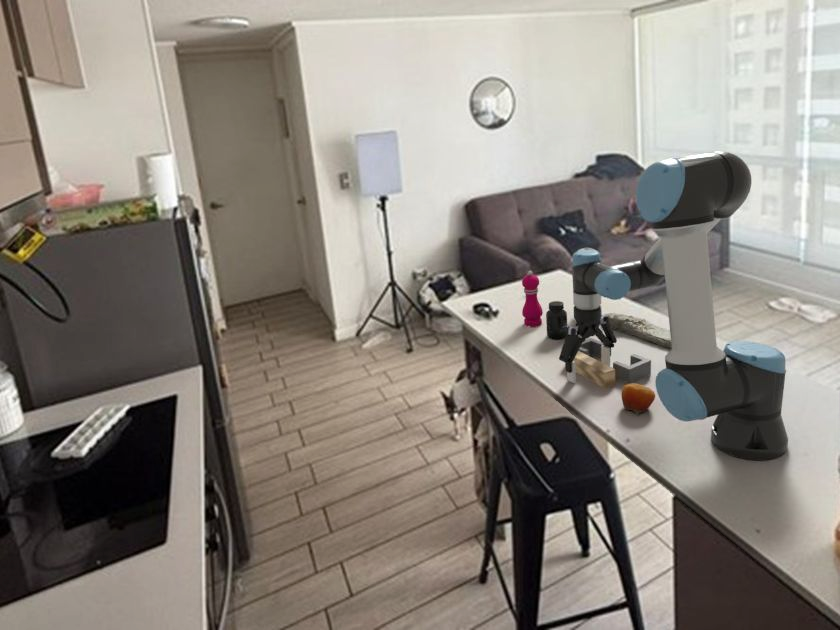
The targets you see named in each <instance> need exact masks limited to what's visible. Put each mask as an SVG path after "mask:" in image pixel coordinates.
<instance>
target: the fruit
mask: <svg viewBox="0 0 840 630" xmlns="http://www.w3.org/2000/svg"><path fill="white" fill-rule="evenodd" d="M655 398H656V394H655V391H653V390H652V389H651V388H650V387H648V386H646V385H642V384H641V383H639V384H638V383H635V382H633V383H631V384H628V383H627V384H625V385H623V387H622V390H621V401H622V406H623V407H624V408H623V409H624V411H626V410H629V411H630V410H631V411H633V412H635V413H636V415H637V417H639V413H642V412H646V411H647V410H648V409H649V408H650V407H651V405H652V404H653V402H654V401H655V400H656V399H655Z"/></svg>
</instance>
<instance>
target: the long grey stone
mask: <svg viewBox="0 0 840 630" xmlns="http://www.w3.org/2000/svg"><path fill="white" fill-rule="evenodd" d="M603 315H604V316H607V317H608V318H609V324H610V326H611V329H612V330H613V329H614V330H617V331H618V333H623V334H628V335H630V336H633V337H638V338H641V339H642V340H644V341H650V342H652V343H654V344H657V345H659V346H661V347H664V348H668V349H669V348H670V350H671V349H672V345H671V335H670V329H667V328H663V327H660V326H657V325H655V324H654V323H651V322H649V321H648V320H646V319H644V318H640V317H636V316H633V315H626V314H619V313H615V312H608V313H604V314H603Z"/></svg>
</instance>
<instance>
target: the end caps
mask: <svg viewBox="0 0 840 630" xmlns="http://www.w3.org/2000/svg"><path fill="white" fill-rule="evenodd" d="M603 345H604V344H603V343H602V342H601V341H600V340H599V339H598V340H597V339H594V338H592V337H591V338H590V337H589V338H587V339H586V340H585V341H584V342H583V343H582V344H581V346H580V348H579V350H578V351H580V352H582V353H584V354H586V355H588V356H590V355H593V356H594V357H598V358H600V359H601V346H603ZM604 346H605V345H604ZM629 359H630V365H628V364H625V363H622V362H620V361H618V360H616V361H614V362H612V368H614V369H615V379H617V380H619V381H622V382H624V383H626V384H627V385H628V384H631V383H635V382H637V381H640V380H642V379H644V378H647V377H649V376H651V374H652V360H651V359H649V358H646V357H644V356H641V355H639V354H634V353H633V354H630V358H629Z"/></svg>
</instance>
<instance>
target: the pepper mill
mask: <svg viewBox="0 0 840 630" xmlns="http://www.w3.org/2000/svg"><path fill="white" fill-rule="evenodd" d="M521 285H522V287H524V288H523V293H524V294H525V302H524V305H523V307H522V312H521V314H522V317H523V318H524V320H523V323H524V324H523V325H524V326H525V325H526V327H528V326H530V327H529V328H537V327H540V326H541V325H543V321H542V318H541V317H542V316H543V314H544V312H543V311H544V310H543V308H542V306H541V303H540V302H539V299H538V292H539V287H538V286H539V285H540V279H539V277H538V276H537V275H535V274H534V273H533V270H528V272H527V274H526V275H525V276H523V278H522V281H521ZM536 326H537V327H536Z"/></svg>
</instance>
